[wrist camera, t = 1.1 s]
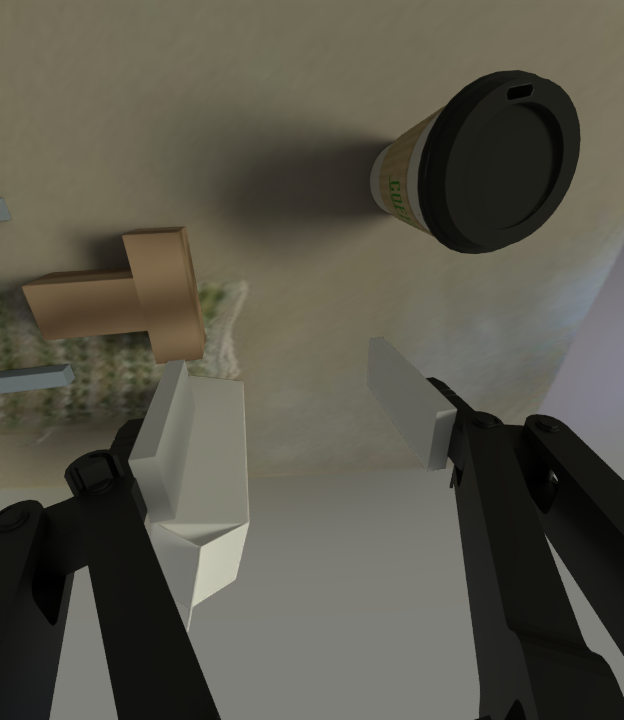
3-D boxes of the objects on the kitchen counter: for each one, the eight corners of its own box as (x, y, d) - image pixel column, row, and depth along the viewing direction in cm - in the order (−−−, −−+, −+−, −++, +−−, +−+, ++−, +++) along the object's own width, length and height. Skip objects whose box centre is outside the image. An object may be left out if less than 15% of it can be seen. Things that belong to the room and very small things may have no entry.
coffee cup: (358, 242, 34) (434, 274, 21) (344, 128, 30) (432, 77, 16) (447, 221, 35) (574, 239, 22) (447, 107, 30) (609, 42, 17)
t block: (38, 234, 29) (2, 241, 24) (185, 226, 31) (177, 232, 26) (82, 351, 33) (59, 375, 29) (206, 338, 35) (202, 358, 31)
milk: (243, 380, 39) (255, 568, 19) (235, 423, 41) (238, 630, 22) (187, 374, 37) (138, 574, 18) (182, 419, 39) (134, 641, 20)
